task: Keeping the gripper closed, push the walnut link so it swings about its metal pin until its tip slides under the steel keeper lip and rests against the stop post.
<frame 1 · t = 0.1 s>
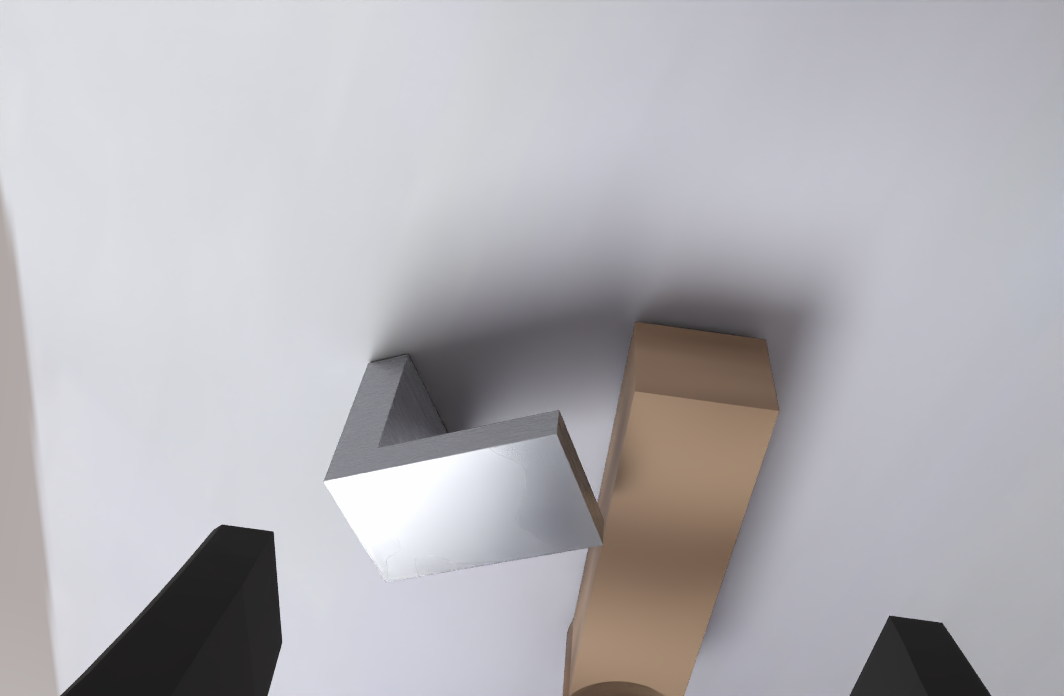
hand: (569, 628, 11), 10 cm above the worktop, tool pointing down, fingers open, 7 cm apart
link: (650, 573, 23), point 2 cm above the worktop, hinge at 0.0°
keeper: (621, 634, 27), on the worktop
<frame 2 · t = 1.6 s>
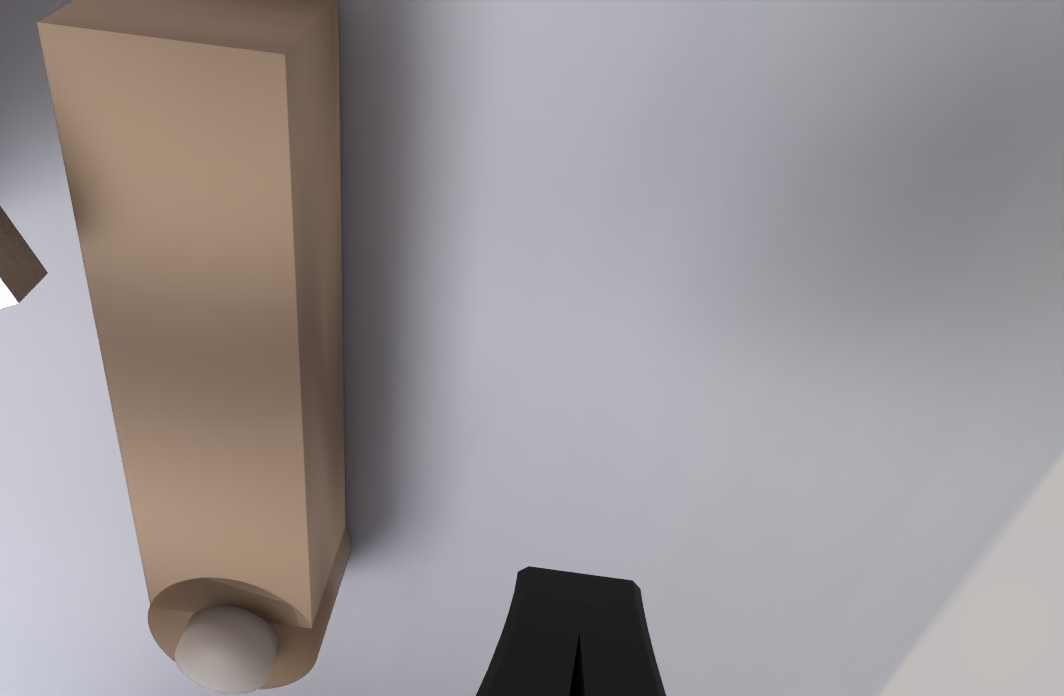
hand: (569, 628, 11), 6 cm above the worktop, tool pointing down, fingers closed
link: (230, 404, 15), point 2 cm above the worktop, hinge at 0.0°
keeper: (277, 527, 19), on the worktop
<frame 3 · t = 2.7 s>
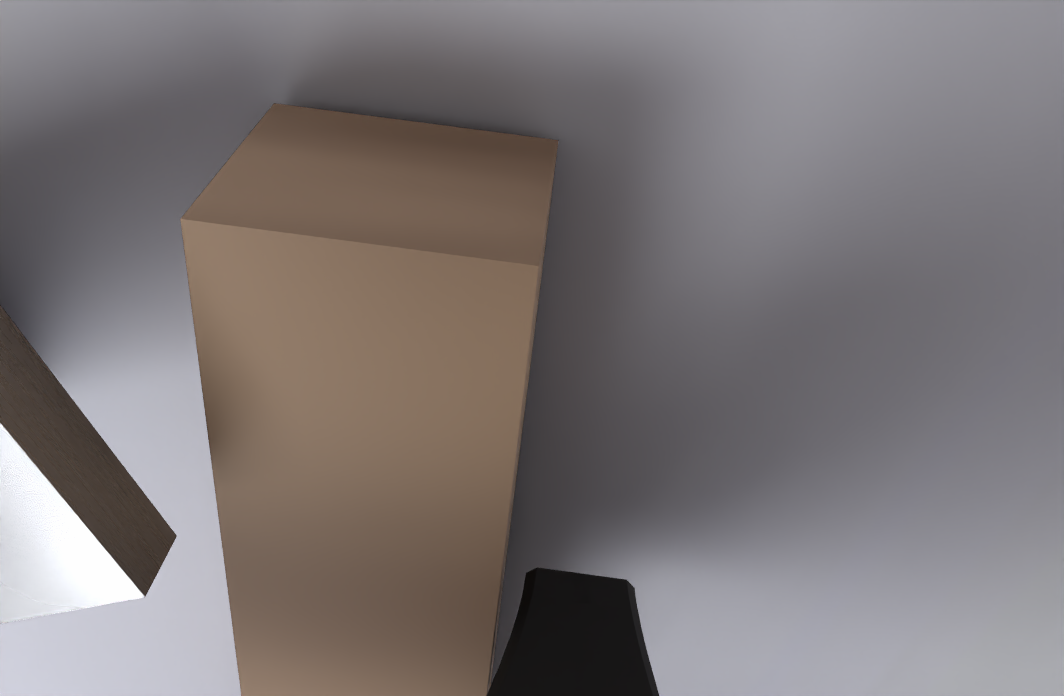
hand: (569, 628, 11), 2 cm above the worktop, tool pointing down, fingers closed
link: (378, 636, 12), point 2 cm above the worktop, hinge at 0.0°, touching gripper
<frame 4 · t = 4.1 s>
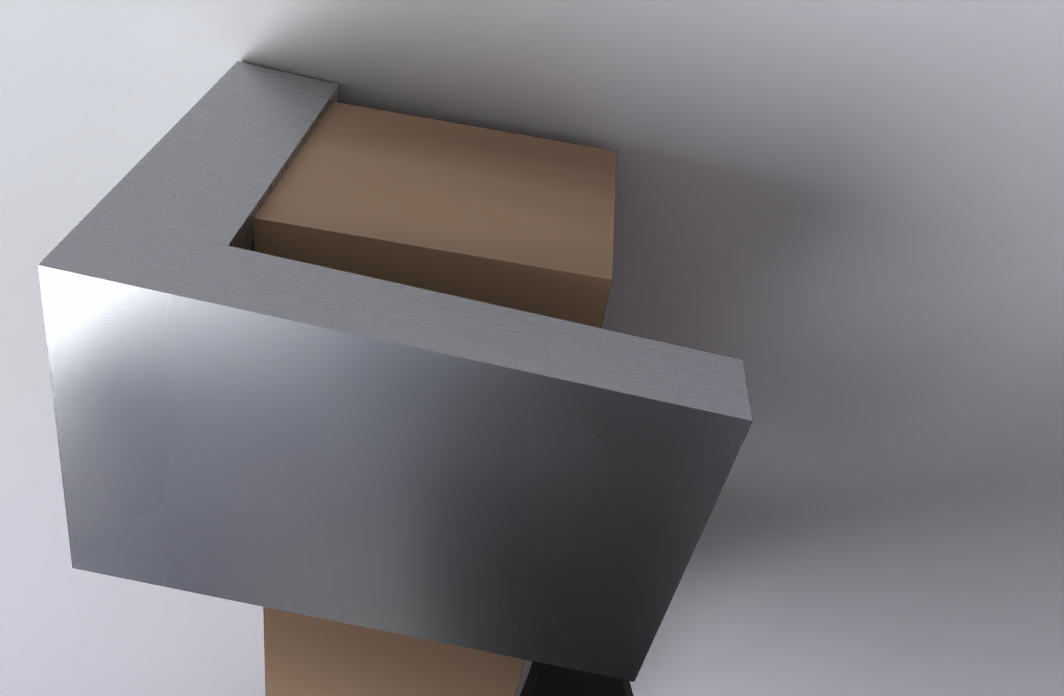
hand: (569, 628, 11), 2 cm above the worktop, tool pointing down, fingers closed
link: (402, 637, 12), point 2 cm above the worktop, hinge at 28.3°, touching gripper, keeper
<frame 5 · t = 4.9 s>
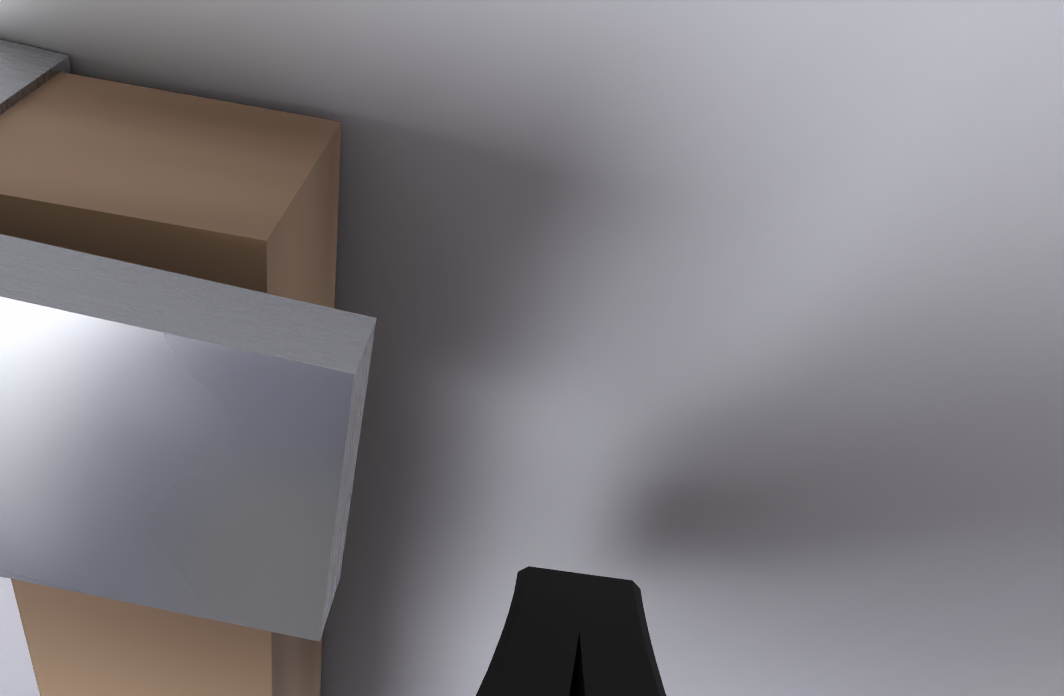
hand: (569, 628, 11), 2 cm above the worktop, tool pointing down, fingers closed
link: (180, 609, 12), point 2 cm above the worktop, hinge at 28.4°, touching keeper
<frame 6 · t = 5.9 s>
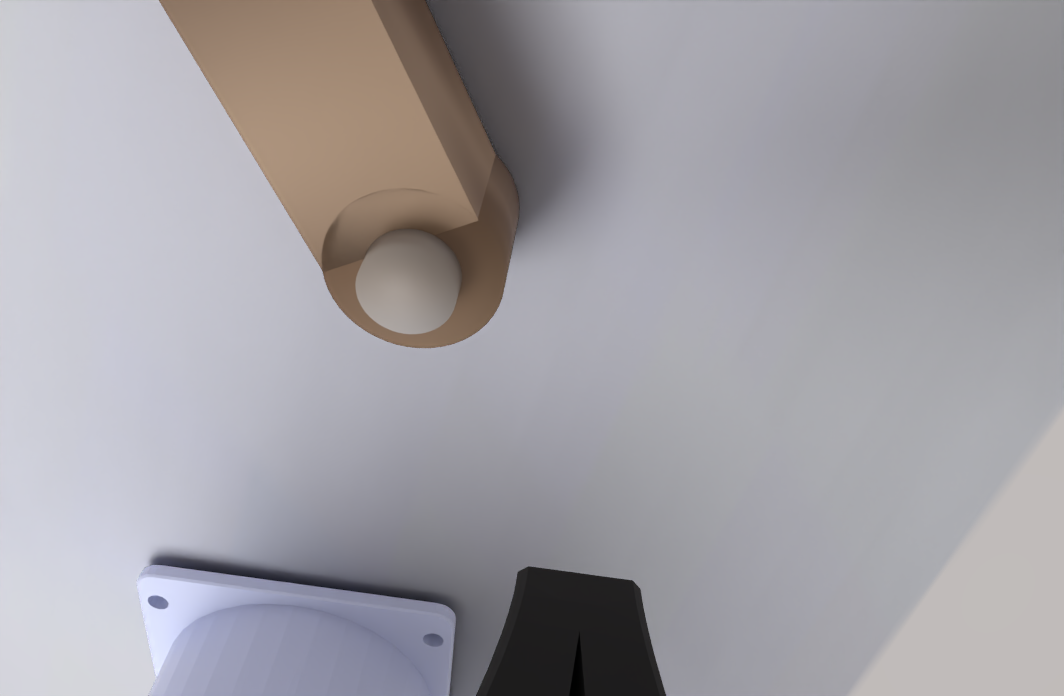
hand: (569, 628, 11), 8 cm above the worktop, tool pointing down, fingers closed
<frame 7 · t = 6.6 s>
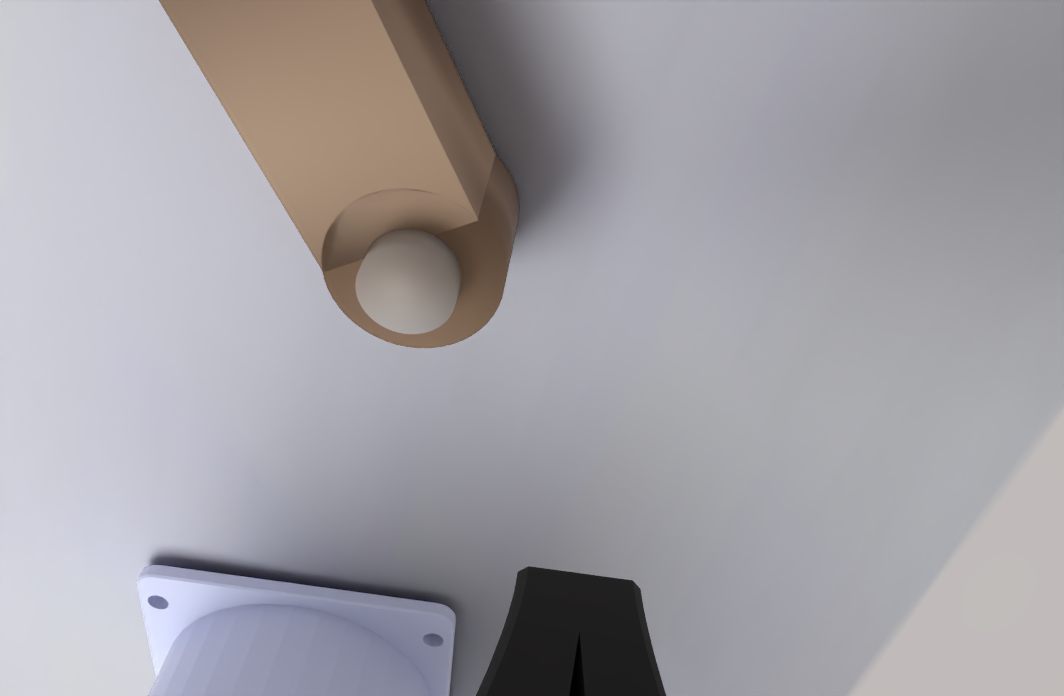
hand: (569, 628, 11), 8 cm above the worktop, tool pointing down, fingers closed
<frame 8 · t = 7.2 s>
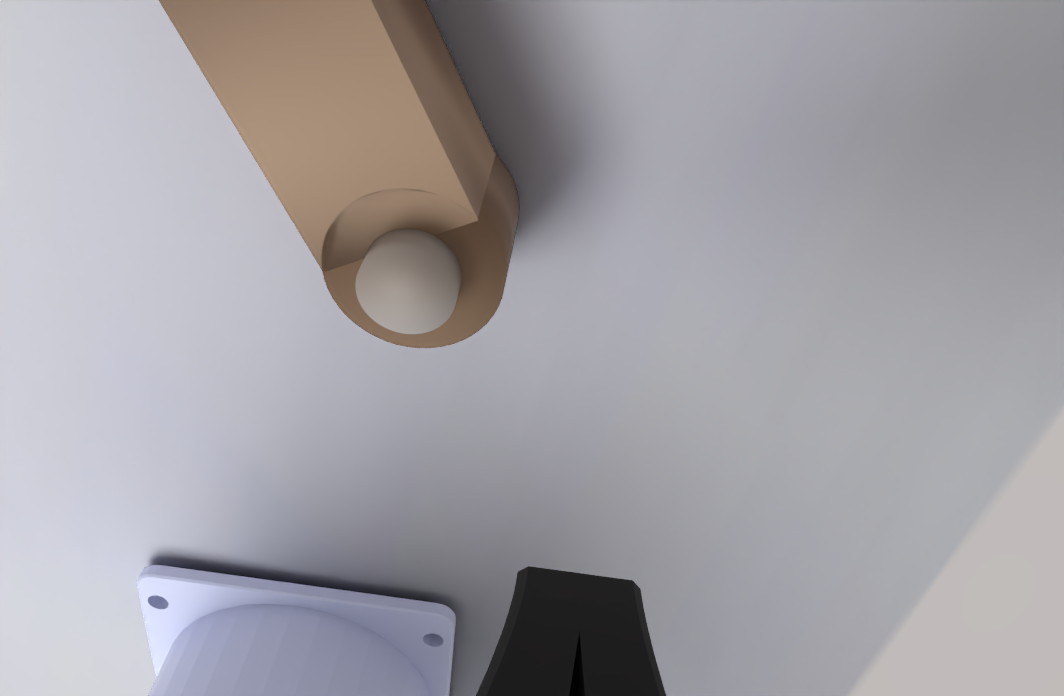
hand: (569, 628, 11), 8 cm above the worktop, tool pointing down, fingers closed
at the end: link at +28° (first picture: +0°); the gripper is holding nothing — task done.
